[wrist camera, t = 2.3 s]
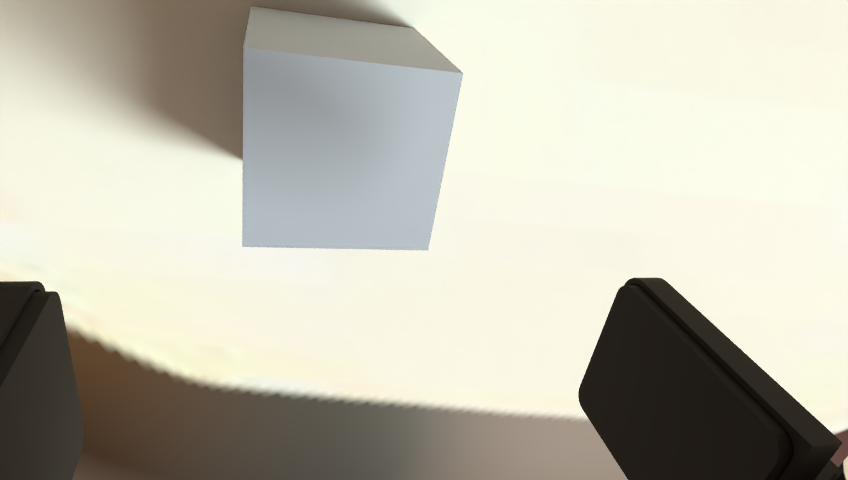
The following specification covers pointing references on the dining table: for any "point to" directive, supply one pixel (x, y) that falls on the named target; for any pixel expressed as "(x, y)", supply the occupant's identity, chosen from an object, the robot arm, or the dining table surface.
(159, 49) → the dining table surface
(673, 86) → the dining table surface
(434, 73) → the slate block
